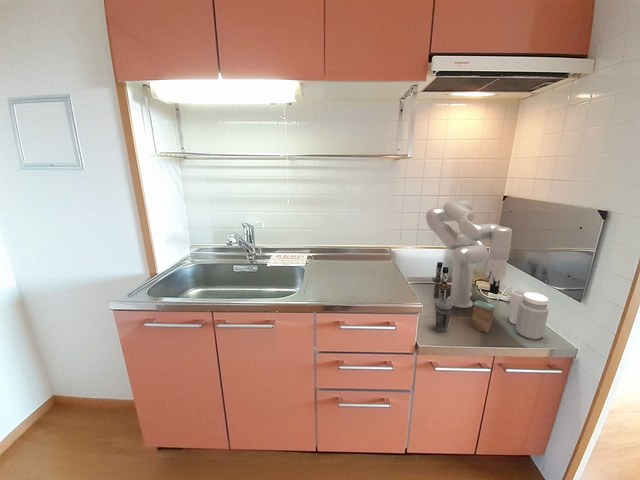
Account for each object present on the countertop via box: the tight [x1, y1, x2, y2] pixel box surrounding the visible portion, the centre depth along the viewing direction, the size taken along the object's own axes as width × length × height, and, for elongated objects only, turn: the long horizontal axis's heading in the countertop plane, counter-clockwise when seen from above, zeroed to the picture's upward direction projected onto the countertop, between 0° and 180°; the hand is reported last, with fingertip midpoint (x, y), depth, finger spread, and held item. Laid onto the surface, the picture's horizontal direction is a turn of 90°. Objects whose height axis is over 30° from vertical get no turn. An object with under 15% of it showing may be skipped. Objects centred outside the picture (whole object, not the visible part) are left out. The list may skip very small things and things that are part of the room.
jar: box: [515, 291, 549, 340], centre depth 117 cm, size 10×10×18 cm
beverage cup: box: [434, 289, 454, 333], centre depth 123 cm, size 7×7×20 cm
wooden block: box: [470, 299, 495, 334], centre depth 123 cm, size 4×7×12 cm, turn 37°
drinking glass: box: [508, 289, 527, 325], centre depth 127 cm, size 7×7×15 cm
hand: (493, 293), depth 125 cm, fingers closed
